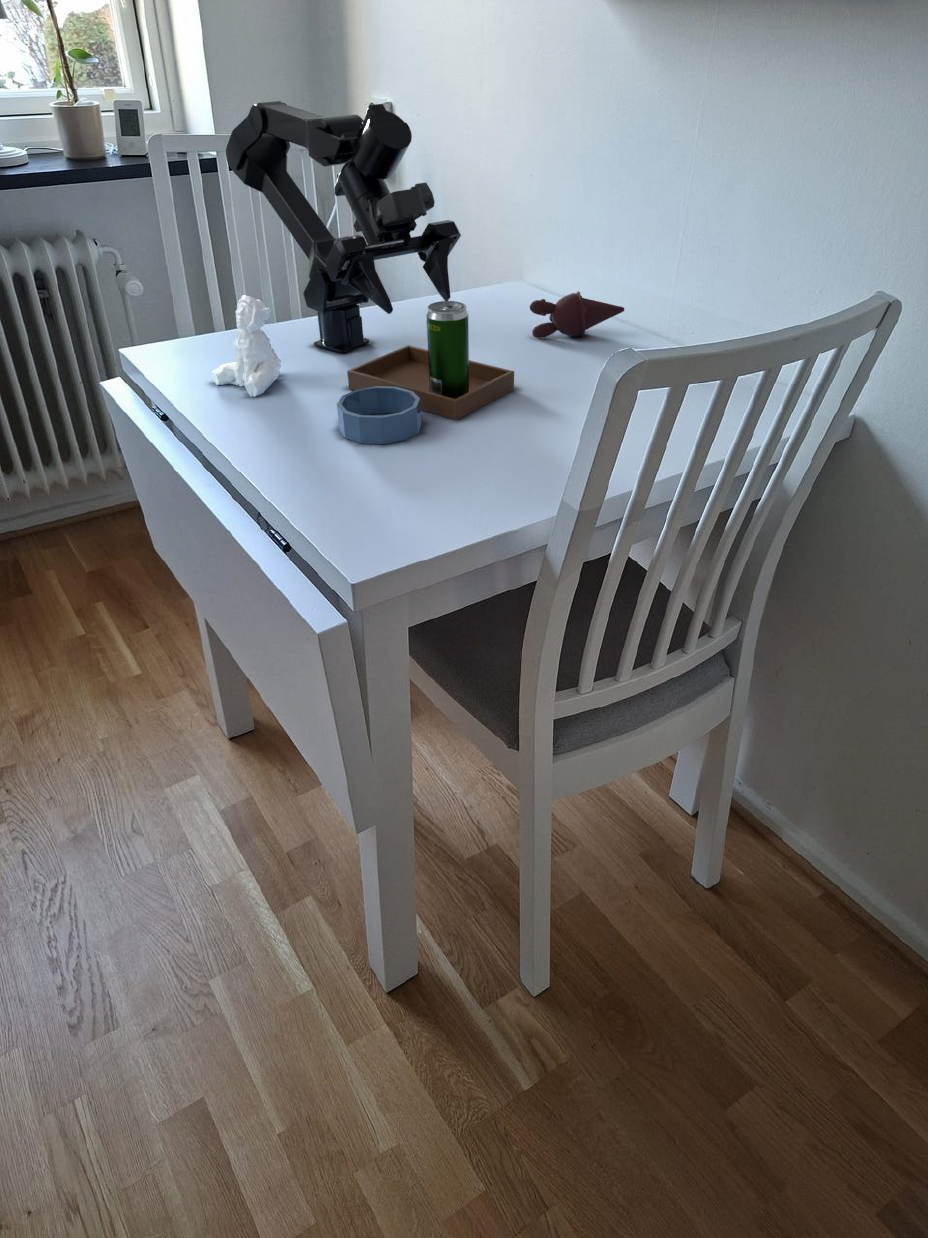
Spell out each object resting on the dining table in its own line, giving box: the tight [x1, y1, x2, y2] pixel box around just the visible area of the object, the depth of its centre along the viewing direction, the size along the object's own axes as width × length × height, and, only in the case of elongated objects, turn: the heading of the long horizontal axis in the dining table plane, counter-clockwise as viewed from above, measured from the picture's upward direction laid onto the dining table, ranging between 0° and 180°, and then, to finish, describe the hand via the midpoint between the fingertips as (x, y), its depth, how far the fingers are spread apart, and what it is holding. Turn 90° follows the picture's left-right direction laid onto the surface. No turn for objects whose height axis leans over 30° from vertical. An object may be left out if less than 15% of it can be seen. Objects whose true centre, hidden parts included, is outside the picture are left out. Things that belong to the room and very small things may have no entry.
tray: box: [346, 344, 515, 421], centre depth 121 cm, size 19×13×3 cm
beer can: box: [425, 300, 470, 399], centre depth 114 cm, size 5×5×12 cm
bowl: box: [336, 386, 422, 445], centre depth 110 cm, size 10×10×4 cm
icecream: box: [529, 290, 625, 339], centre depth 138 cm, size 7×7×15 cm
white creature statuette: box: [211, 295, 282, 398], centre depth 121 cm, size 10×9×12 cm
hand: (420, 305), depth 116 cm, fingers open, 9 cm apart
